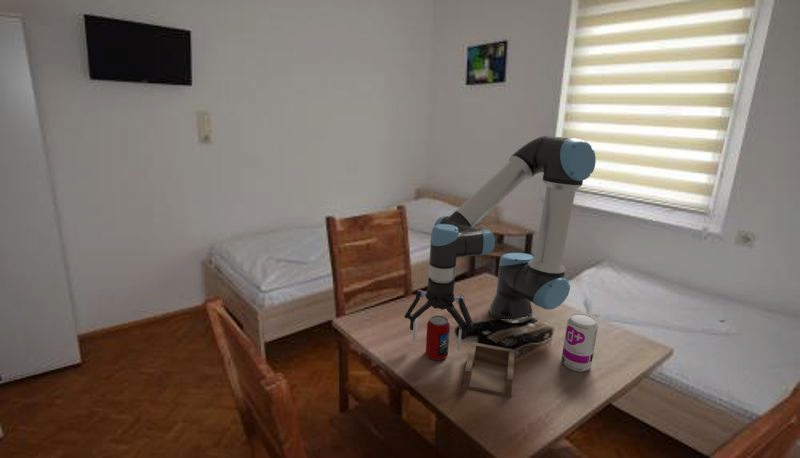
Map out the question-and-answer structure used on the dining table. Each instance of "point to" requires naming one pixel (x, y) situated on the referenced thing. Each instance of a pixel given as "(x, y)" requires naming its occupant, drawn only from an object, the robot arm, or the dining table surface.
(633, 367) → the dining table surface
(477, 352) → the walnut U-rest
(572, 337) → the supplement can
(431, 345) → the beverage can
